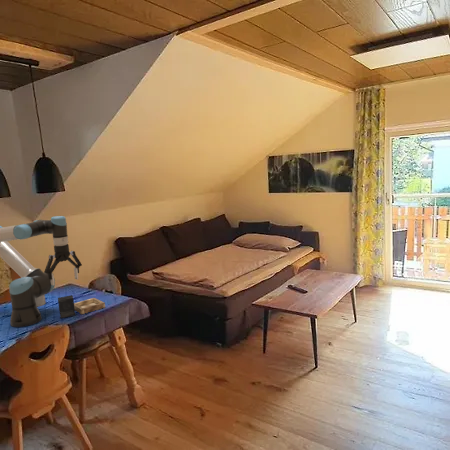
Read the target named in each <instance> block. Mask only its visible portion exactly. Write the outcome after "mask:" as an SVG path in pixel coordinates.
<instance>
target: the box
mask: <svg viewBox="0 0 450 450" xmlns="http://www.w3.org/2000/svg"><path fill="white" fill-rule="evenodd" d="M57 303H58V310H59V317H60V319H66V318H69V317H74V316H76V311H75V307H74V303H75V301H74V296H73V294H72V295H66V296H59V297H57Z"/></svg>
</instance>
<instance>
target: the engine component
mask: <svg viewBox="0 0 450 450" xmlns="http://www.w3.org/2000/svg"><path fill="white" fill-rule="evenodd" d="M45 296H46V294H45V295H42V296H40V297H38V298H36V306H37V308H38V307H42V306H44V305H45V304H46V303H47V302H46V297H45Z"/></svg>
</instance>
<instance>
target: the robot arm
mask: <svg viewBox="0 0 450 450" xmlns="http://www.w3.org/2000/svg"><path fill="white" fill-rule="evenodd" d="M45 234H46V235H47V234H48V235H50V234H51V235H52V240H53V241H52V242H53V249H54V250H53V251H54V254H49V255H48V261H47V263H46V266H45V269H44V271H43V270H42V269H41V268H39V267H38V268H37V267H35V266H34V265H32V263H31V262H30V261H28V260H27V259H26V258H25V257H24V256H23V255H22V254H21V253H20V252H19V251H18V250H17V249H16V248H15V247H14V246H13V245H11V243H10V242H9V241H17V240H28V239H29V238H35V237H38V236H41V235H45ZM70 256H71V257H72V258H73V259H72V258H71V257H70ZM0 258H1V260H2V261H4V262H5V263H6V264H7V265H8V266H9V267H10V268H11V269H12V270H13V271H14V272H15V273H16V274H17V275H18V276H19V277H20V278H15V279H14V280H12V281H11V282H9V283H10V284H9V286H8V287H9V291H8V292H9V295H10V302H11V309H12V311H11V315H10V323H9V324H10V326H11V327H13V328H23V327H29V326H31V325H36V324H37V323H39V322H41V320H42V319H43V318H42V313H41V312H40V310H39V308H38V307H37V306H36V298H38V297H40V296H42V295H45V296H46V295H48V293H51V292H52V291H53V290H54V288H55V286H56V280H55V277H54V273H53V272H54V271H55V269H56V267H57V266H58V264H59V263H61V262H66V261H68V262H69V263H70V265H73V266H74V267H73V272H74V280H79V273H80V268H81V267H82V266H83V265H82V262H81V261H80V259H79V258H78V256H77V255H76V251H74V250H71V251H70V245H69V236H68V225H67V219H66V216H64V215H58V216H57V215H55V216H52V217H51V218H50V219H35V220H33V222H28V223H27V222H26V223H22V224H16V225H9V226H5V227H3V226H2V225H0ZM53 261H54V262H53Z"/></svg>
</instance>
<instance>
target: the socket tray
mask: <svg viewBox="0 0 450 450" xmlns="http://www.w3.org/2000/svg"><path fill="white" fill-rule="evenodd" d="M74 307H75V312H76V311H77V312H76V313H78V312H79V313H78V314H80V315H85V313H86V314H88V312H89V313H91V312H95V310H96V311H99V310H101V309H102V308H103V309H105V308H106V302H104V301H102V300H100V299H98V298H95V297H92V298H88V299H84V300H81V301H77V302H74Z"/></svg>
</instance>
